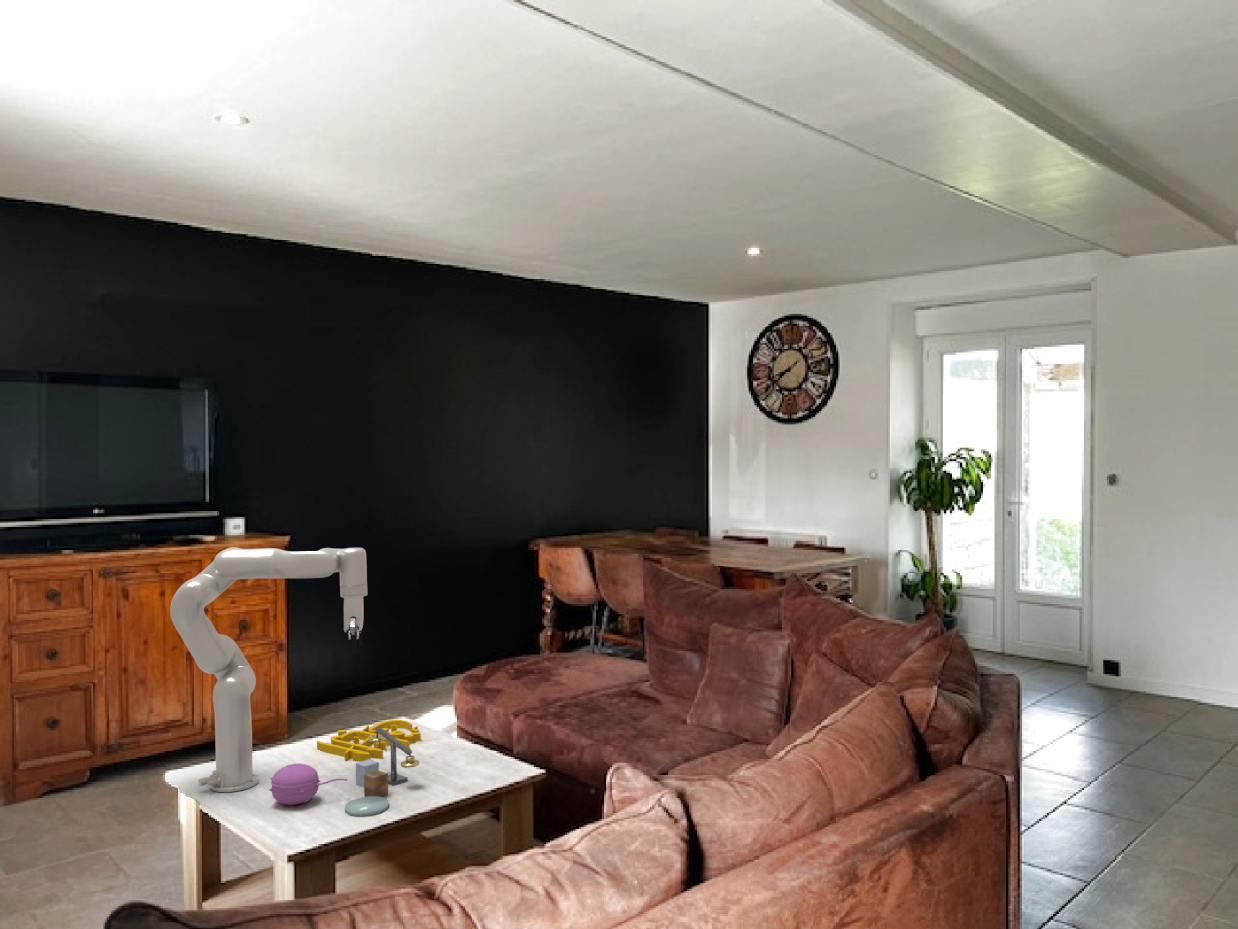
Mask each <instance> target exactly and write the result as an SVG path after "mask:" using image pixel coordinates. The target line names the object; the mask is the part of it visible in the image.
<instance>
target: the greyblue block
mask: <svg viewBox="0 0 1238 929" xmlns="http://www.w3.org/2000/svg"><path fill="white" fill-rule="evenodd" d="M379 764H380V763H379V761H376V760H373V759H371V760H370V759H368V760H365V761H362V762H359V761H357V762H355V785H357V786H359V787H361V788H364V774H367V773H370V772H373V771H377V770H379V771H380V768H379V766H380V765H379Z"/></svg>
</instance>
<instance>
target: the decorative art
mask: <svg viewBox="0 0 1238 929" xmlns="http://www.w3.org/2000/svg"><path fill="white" fill-rule="evenodd" d="M378 726H379V727H381V728H382V729H383V730H385V731H386V732H387V733H389V734H390V735H391V736H393V737H394V738H395V739H397V740H398V741H400V742H401V743H402V744H404V745H405V746H406V747H408V748H409V749H410V746H411V745H413V744H414V743H415V742H421V735H422V734H421V731H420V730H419V728H418V725H417V726H414V727H413V723H412V722H409V721H408V720H404V719H388V720H385V721H380V722H378V723H376V724H373V725H372V726H371V727H370V724H367V725H366V726H365V727H364V728H363V729H362V730H360V729H359V730H358V729H355V730H349V731H348V730H347V729H342V730H341V729H340V730H339V729H338V730H337V735H334V736H332V737H331V738H330V743H328V742H323V741H320V740H318V739H317V740H316V750H317V751H319V750H320V751H319V752H321V751H322V753H326V754H330V755H335V756H338V757H344V762H347V761H348V760H349V759H351V760H352V761H353V762H362V761H365V760H368V759H370V760H372V759H379V760H383V759H384V751H385V752H387V746H388V747H390V741H388V740H387V739H386V740H385V741H382V742H369V741H368V738H369V737H371V736H375V735H376V731H375V728H376V727H378ZM398 729H404V730H407V731H409V732H411V734H406V732H405V731H402V730H398ZM389 730H390V731H389ZM378 735H380V734H379V733H378ZM359 739H360V740H361V741H362V742H361V743H360V740H359ZM351 740H352V742H351ZM372 744H373V746H372ZM397 748H398V747H396V749H397ZM398 749H399V748H398ZM410 750H411V749H410Z"/></svg>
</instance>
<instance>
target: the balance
mask: <svg viewBox="0 0 1238 929" xmlns="http://www.w3.org/2000/svg"><path fill="white" fill-rule="evenodd" d="M375 731H376V735H375V736H371V737H369V738H368V741H369V742H372V743H373V742H382V741H385V740H386V739H387V740H388V741H390V746H389V747H390V774H388V786H389V785H390V786H392V787H393V786H396V785H400V784H402V783H406V782H408V781H409V780H408V777H407V776H404V775H402V774H399V773H398V767H397V762H398V761H397V748H396V747H398V749H399V750H400V751H401V752H402V753H404V754H405V755H407V756H405V760H403V761H401V762H400V767H402V768H415V767H418V766H419V765H420V760H418V759H415V755H412V754H413V750H411V749H409V748H408V747H406V746H405V745H404V744H402V743H401V742H400V741H398V740H397V739H395V738H394V737H393V736H391V735H390V734H389V733H387V732H386V731H385V730H383V729H382V728H381V727H379V726H378V727H376V728H375ZM378 733H379V734H380V735H378Z"/></svg>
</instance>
